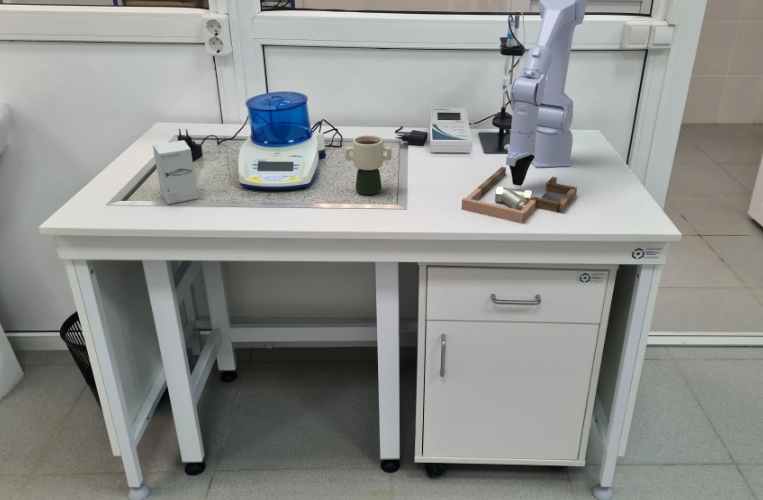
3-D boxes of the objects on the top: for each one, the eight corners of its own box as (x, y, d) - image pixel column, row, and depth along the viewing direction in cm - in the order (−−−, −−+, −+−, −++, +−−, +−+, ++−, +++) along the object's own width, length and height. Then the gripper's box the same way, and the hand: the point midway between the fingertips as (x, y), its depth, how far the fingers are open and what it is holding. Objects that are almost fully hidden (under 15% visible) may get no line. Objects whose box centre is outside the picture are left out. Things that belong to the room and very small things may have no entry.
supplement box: (167, 205, 147) (157, 153, 141) (161, 194, 152) (151, 143, 146) (199, 199, 150) (191, 148, 144) (191, 188, 155) (184, 138, 149)
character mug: (390, 185, 157) (391, 134, 150) (391, 197, 150) (391, 144, 144) (346, 185, 157) (345, 134, 150) (345, 197, 150) (343, 145, 144)
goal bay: (476, 195, 151) (477, 186, 150) (534, 208, 144) (536, 199, 143) (461, 209, 144) (462, 199, 143) (522, 223, 138) (523, 213, 137)
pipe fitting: (527, 216, 143) (531, 202, 148) (529, 201, 140) (533, 187, 146) (492, 211, 145) (497, 198, 150) (493, 196, 143) (498, 183, 148)
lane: (501, 174, 163) (501, 166, 162) (580, 189, 154) (581, 182, 153) (476, 195, 151) (476, 188, 150) (560, 214, 142) (562, 206, 141)
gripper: (517, 118, 154) (512, 171, 160) (495, 136, 143) (490, 191, 149) (546, 123, 150) (539, 176, 157) (525, 141, 140) (519, 197, 146)
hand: (517, 184), depth 153 cm, fingers closed
